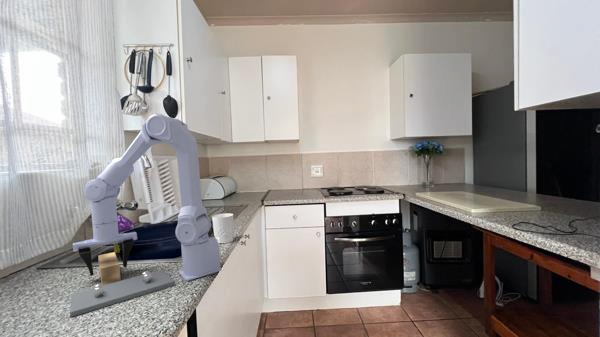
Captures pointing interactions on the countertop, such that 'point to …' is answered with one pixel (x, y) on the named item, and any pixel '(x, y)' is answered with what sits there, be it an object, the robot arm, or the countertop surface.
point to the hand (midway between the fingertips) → (108, 270)
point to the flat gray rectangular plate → (118, 291)
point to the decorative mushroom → (123, 228)
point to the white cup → (223, 227)
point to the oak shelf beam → (109, 268)
